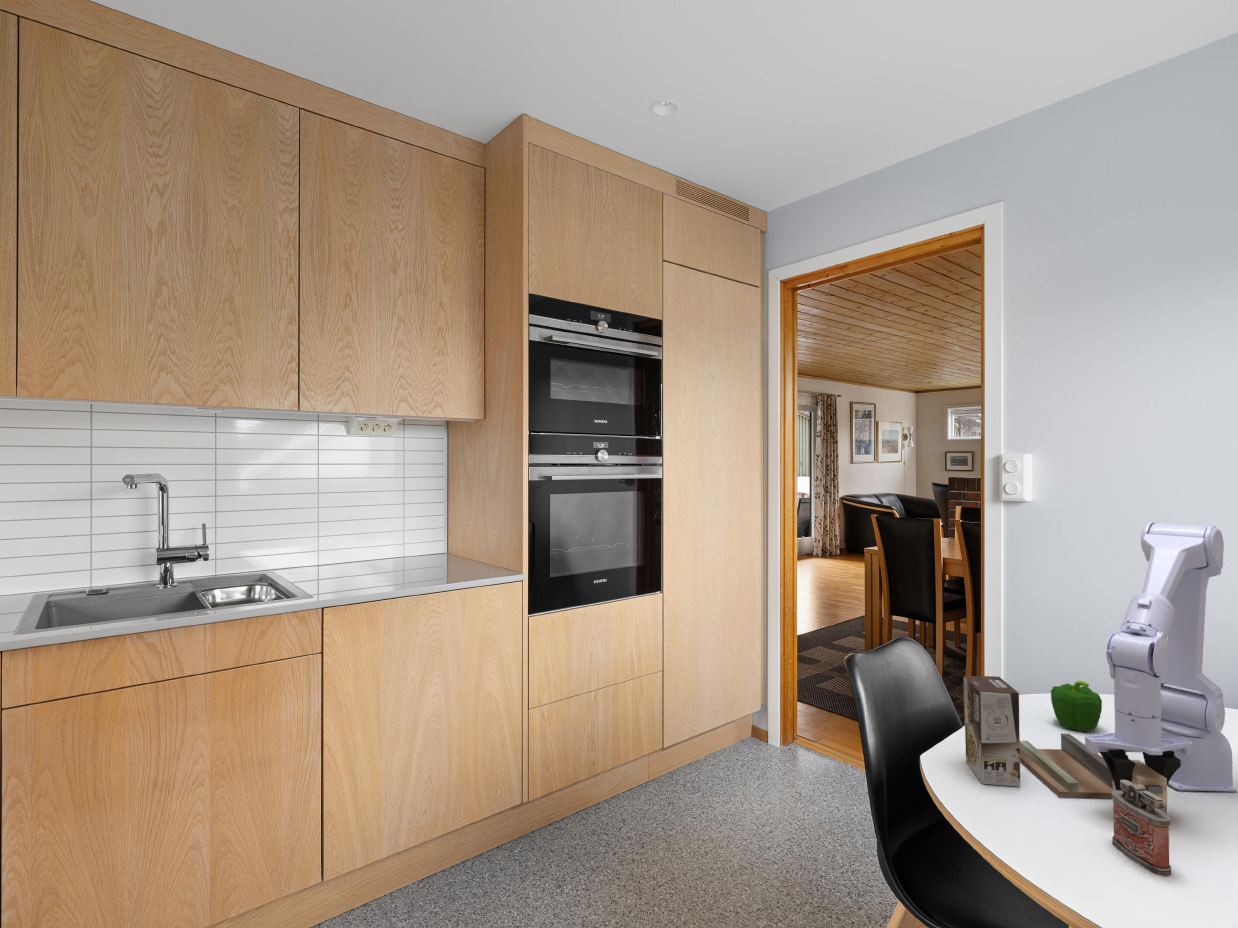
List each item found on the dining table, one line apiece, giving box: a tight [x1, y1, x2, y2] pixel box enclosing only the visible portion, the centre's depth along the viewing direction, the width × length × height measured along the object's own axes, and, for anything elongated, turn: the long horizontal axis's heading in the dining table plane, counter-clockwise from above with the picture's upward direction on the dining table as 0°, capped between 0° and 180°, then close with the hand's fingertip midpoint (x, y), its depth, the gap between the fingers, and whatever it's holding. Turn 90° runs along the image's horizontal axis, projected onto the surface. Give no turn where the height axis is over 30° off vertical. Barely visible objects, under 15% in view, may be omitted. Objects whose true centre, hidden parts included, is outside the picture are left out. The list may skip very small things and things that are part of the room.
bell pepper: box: [1050, 680, 1103, 732], centre depth 134 cm, size 8×8×10 cm
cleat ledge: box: [1020, 733, 1113, 800], centre depth 115 cm, size 12×16×4 cm
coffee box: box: [963, 675, 1021, 788], centre depth 116 cm, size 9×6×16 cm
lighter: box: [1111, 780, 1172, 877], centre depth 91 cm, size 8×3×10 cm, turn 5°
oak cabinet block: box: [1113, 759, 1168, 815], centre depth 101 cm, size 4×7×7 cm, turn 175°
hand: (1139, 797), depth 101 cm, fingers closed on oak cabinet block, 4 cm apart
